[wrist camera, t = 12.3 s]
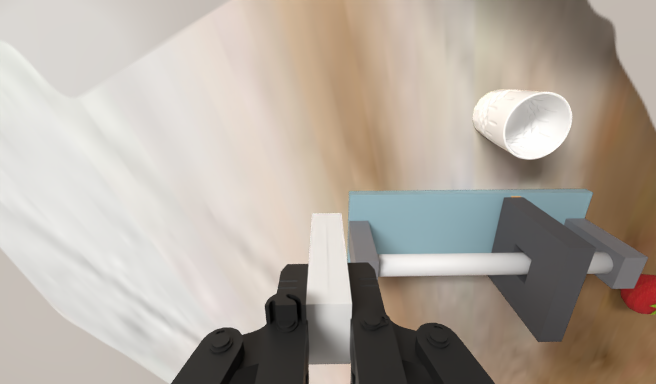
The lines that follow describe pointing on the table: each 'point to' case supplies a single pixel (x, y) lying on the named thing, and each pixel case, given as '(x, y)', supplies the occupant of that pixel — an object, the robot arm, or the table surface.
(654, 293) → the strawberry
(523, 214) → the dark grey square plate
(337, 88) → the table surface
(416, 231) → the pipe stand
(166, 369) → the table surface
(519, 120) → the white cup
